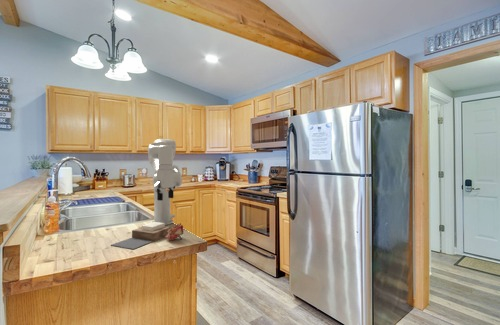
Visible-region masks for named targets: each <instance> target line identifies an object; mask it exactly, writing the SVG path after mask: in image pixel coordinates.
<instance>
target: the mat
mask: <svg viewBox="0 0 500 325" xmlns="http://www.w3.org/2000/svg"><path fill="white" fill-rule="evenodd" d="M152 243H153V241H150V240H143V239H137V238H132V237H130V238H129V237H128V238H126V239H124V240H121V241H118V242H115V243H112V244H110V246H111V247H115V248H116V247H117V248H121V249H126V250H133V251H134V250H136V249H138V248H141V247H144V246H146V245H149V244H152Z"/></svg>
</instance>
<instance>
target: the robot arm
mask: <svg viewBox="0 0 500 325" xmlns="http://www.w3.org/2000/svg"><path fill="white" fill-rule="evenodd" d="M176 151H177V143H176V141H175V140H174V139H172V138H171V139H169V138H167V139H166V138H158V139H155V140H154V141H153V143H152V142H151V143H149V145H148V147H147V155H148V156H147V158H148V161H149V164H150V165H151V167H152V169H153V174H154V175H153V176H152V185H153V186H152V187H153V196H154V197H153V198H154V199H153V202H154V208H153V211H154V220H153V221H152V222H160V223H165V226H168V225H171V224H173V223H174V220H173V218H175V217H176V215H175V214H171V199H174V192H175V189H176V188H180V187H181V186H182V184H183V178H182V177H183V176H182V174H181V171H180V168H179V166H178V165H175V164H173V160H174V159H175V155H176ZM167 189H168V190H167Z"/></svg>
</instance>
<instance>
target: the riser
mask: <svg viewBox="0 0 500 325" xmlns="http://www.w3.org/2000/svg"><path fill="white" fill-rule="evenodd" d="M170 228H172V226H168V225H165V227H163V228H160V229H157V230H154V231H148V230H142V226H141V227H139V228H138V227H137V228H135V229H132V230H131V238H137V239H143V240H150V241H153V242H156V241H158V240H159V241H160V240H161V239H163V238H166V237H167V236H166V235H168V234H169V233H168V232H167V231H168V230H169V229H170ZM165 236H166V237H165ZM153 242H152V243H153Z"/></svg>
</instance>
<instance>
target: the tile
mask: <svg viewBox="0 0 500 325" xmlns="http://www.w3.org/2000/svg"><path fill="white" fill-rule="evenodd" d="M165 226H166V225H165V223H160V222H153V221H152V222H149V223H146V224H143V225H141V227H142V230H148V231H154V230H157V229H160V228H163V227H165Z"/></svg>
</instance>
